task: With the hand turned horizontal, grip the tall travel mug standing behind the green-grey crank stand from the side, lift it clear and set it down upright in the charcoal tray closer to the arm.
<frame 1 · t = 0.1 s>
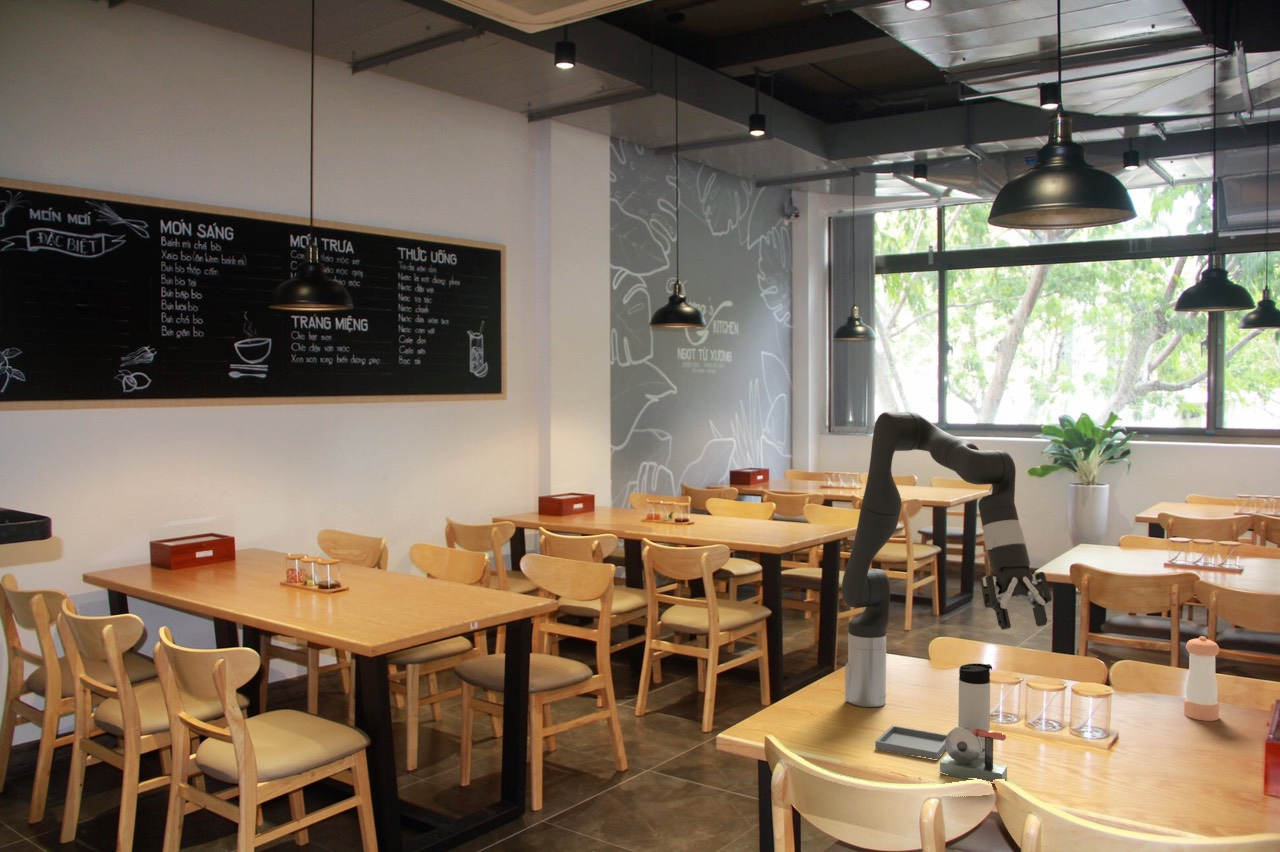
hand: (1024, 627, 195), 31 cm above the table, tool tilted 20°, fingers open, 8 cm apart
tray: (913, 746, 217), on the table
travel mug: (974, 759, 210), on the table
salt shaker: (1201, 716, 238), on the table
crank stand: (973, 775, 201), on the table
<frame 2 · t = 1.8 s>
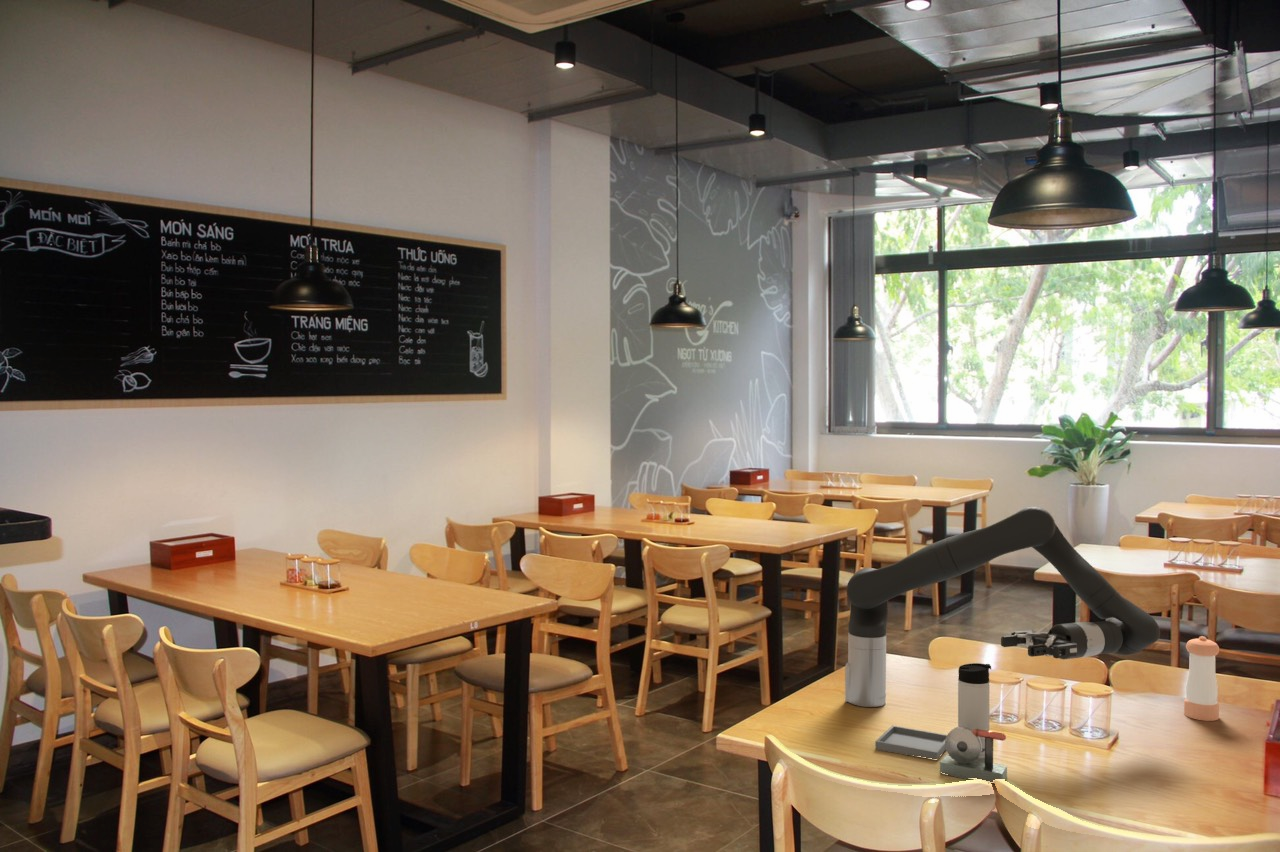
hand: (1015, 646, 213), 23 cm above the table, tool horizontal, fingers open, 8 cm apart
nothing on the table moved.
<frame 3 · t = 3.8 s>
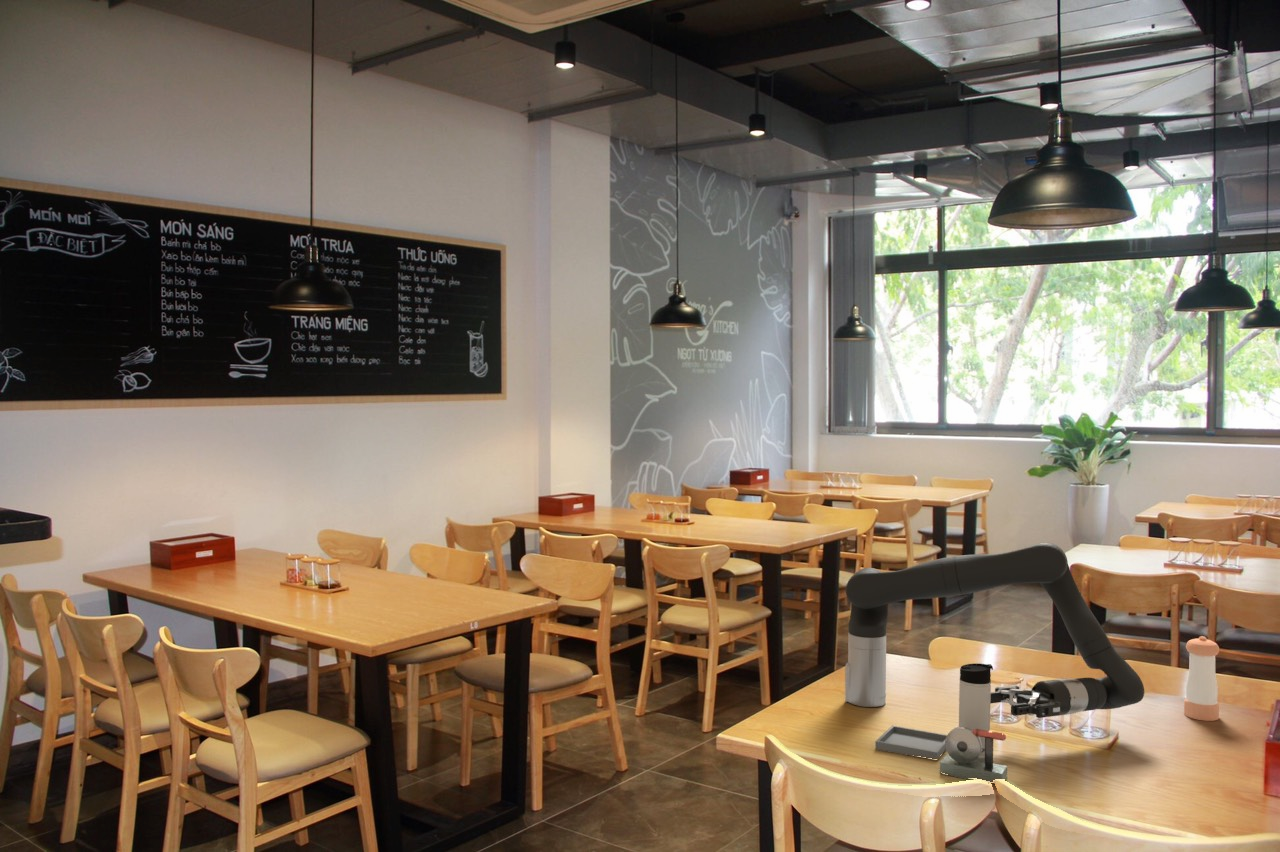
hand: (998, 704, 212), 11 cm above the table, tool horizontal, fingers open, 8 cm apart
nothing on the table moved.
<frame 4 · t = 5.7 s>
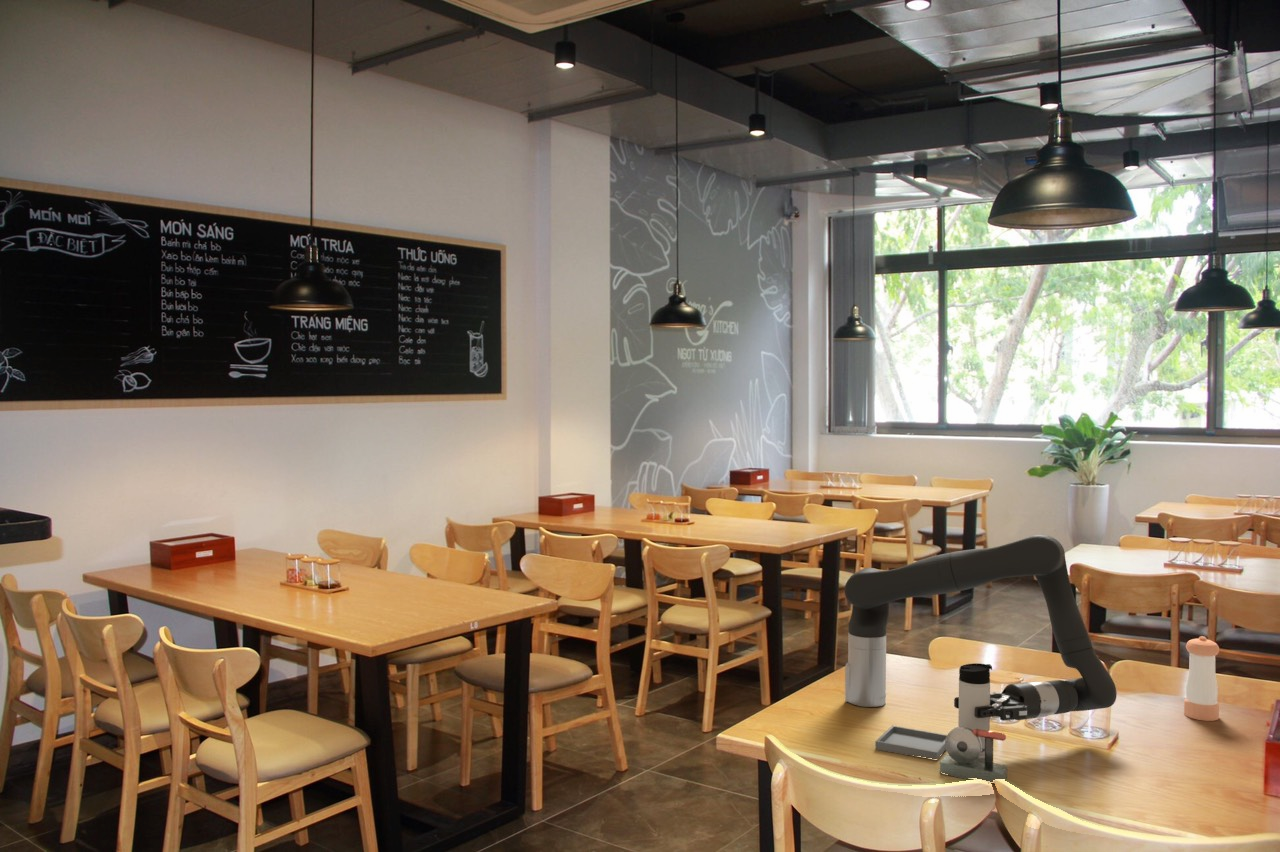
hand: (965, 707, 209), 11 cm above the table, tool horizontal, fingers closed on travel mug, 6 cm apart
travel mug: (974, 759, 210), on the table, touching gripper
everything else where it was.
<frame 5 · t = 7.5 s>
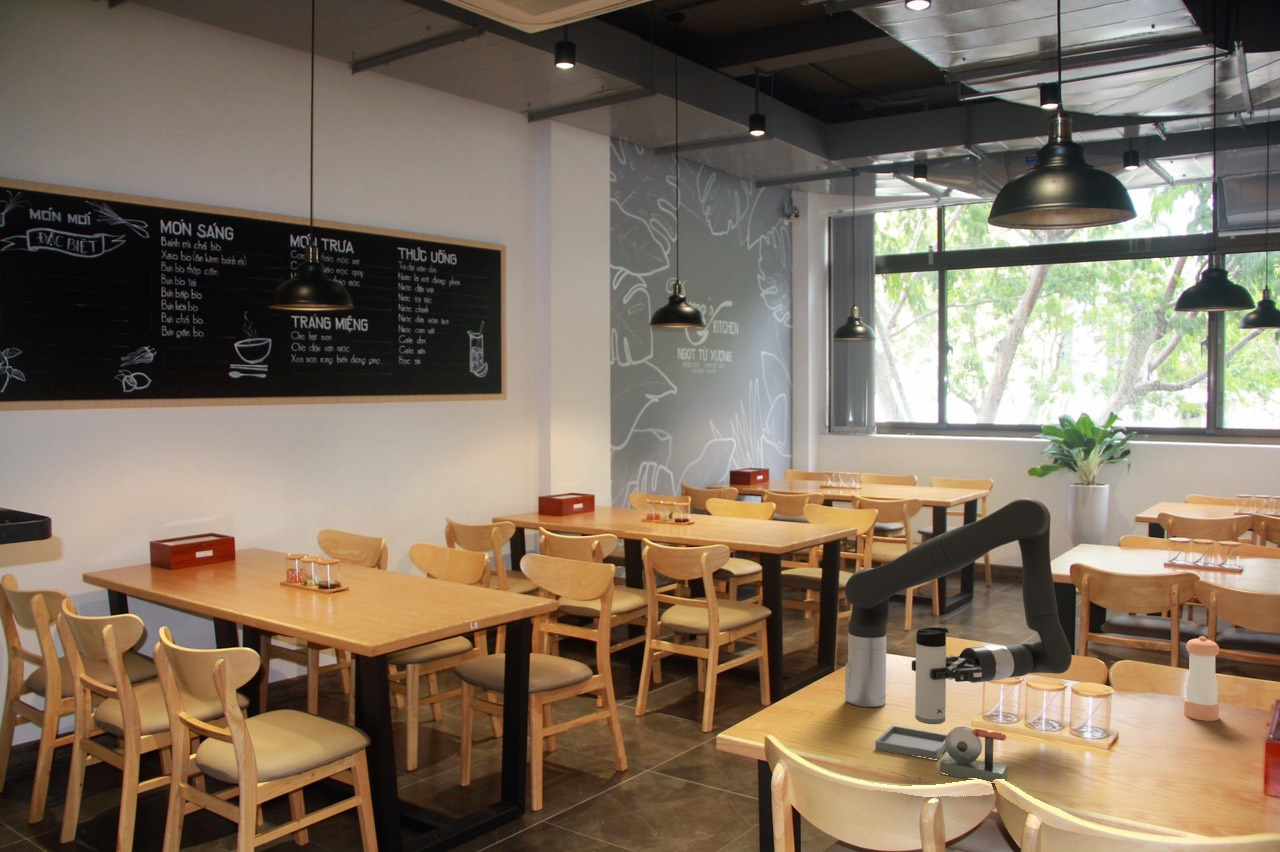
hand: (922, 670, 214), 18 cm above the table, tool horizontal, fingers closed on travel mug, 6 cm apart
travel mug: (931, 720, 215), point 6 cm above the table, touching gripper
everything else where it was.
when the fingers open (12 cm above the table, at t = 9.6 s): travel mug stays where it is, resting on tray.
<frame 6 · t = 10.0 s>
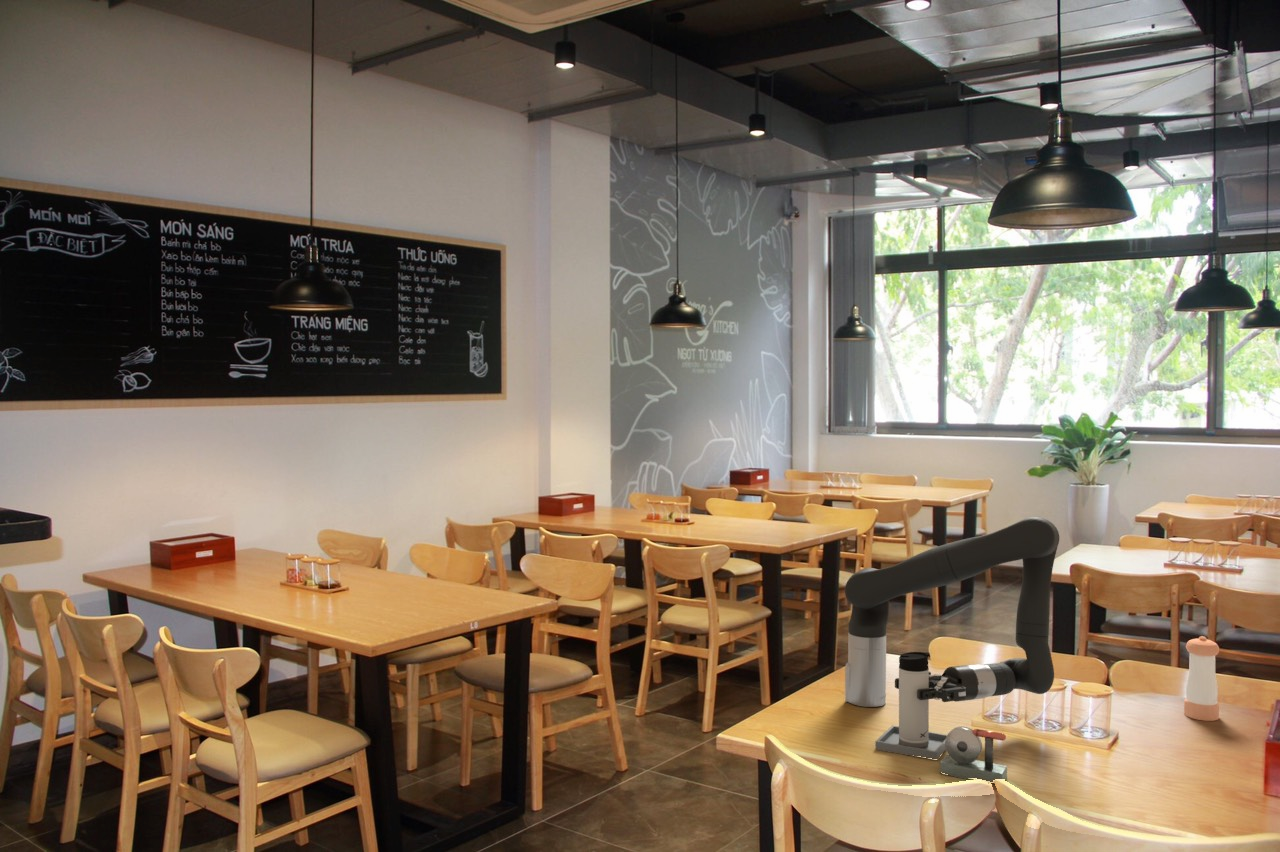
hand: (906, 689, 216), 13 cm above the table, tool horizontal, fingers open, 8 cm apart
travel mug: (914, 744, 217), resting on tray
everything else where it was.
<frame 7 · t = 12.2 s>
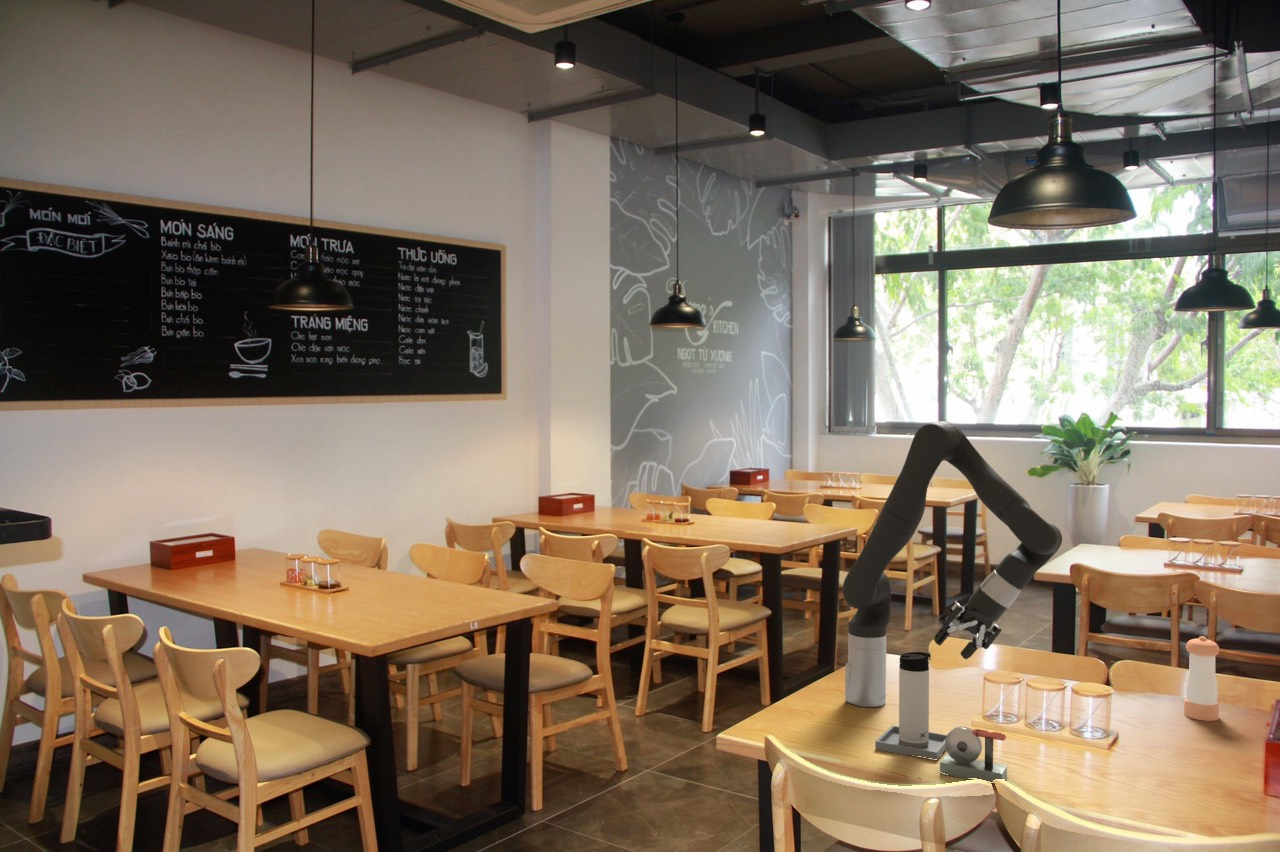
hand: (949, 649, 226), 19 cm above the table, tool tilted 35°, fingers open, 8 cm apart
nothing on the table moved.
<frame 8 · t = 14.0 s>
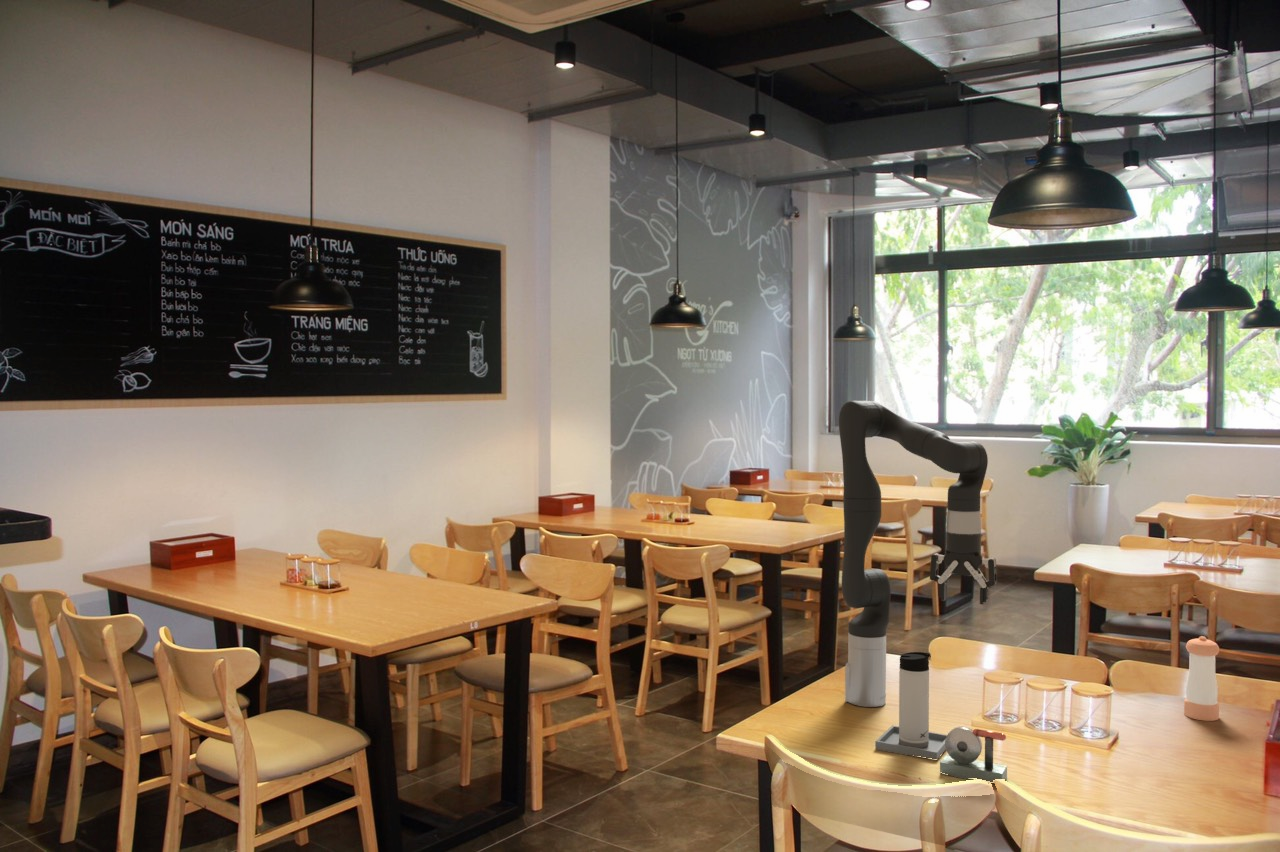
hand: (962, 602, 225), 30 cm above the table, tool pointing down, fingers open, 8 cm apart
nothing on the table moved.
at the end: travel mug inside the target area on the tray (0.1 cm from its centre), point 0.4 cm above the tray's base; travel mug tilted 0°; the gripper is holding nothing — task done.
